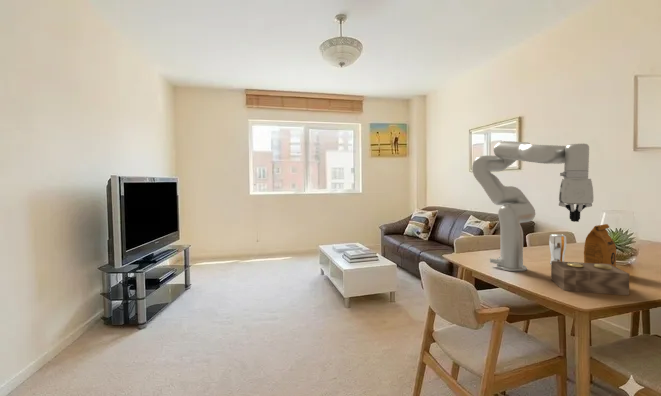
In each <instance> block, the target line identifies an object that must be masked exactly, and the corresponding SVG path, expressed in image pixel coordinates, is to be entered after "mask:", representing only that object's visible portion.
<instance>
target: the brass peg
mask: <svg viewBox="0 0 661 396" xmlns="http://www.w3.org/2000/svg"><path fill="white" fill-rule="evenodd" d="M579 263H580V262H579ZM579 263H567V266H569V267H574V268H583V264H579Z"/></svg>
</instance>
